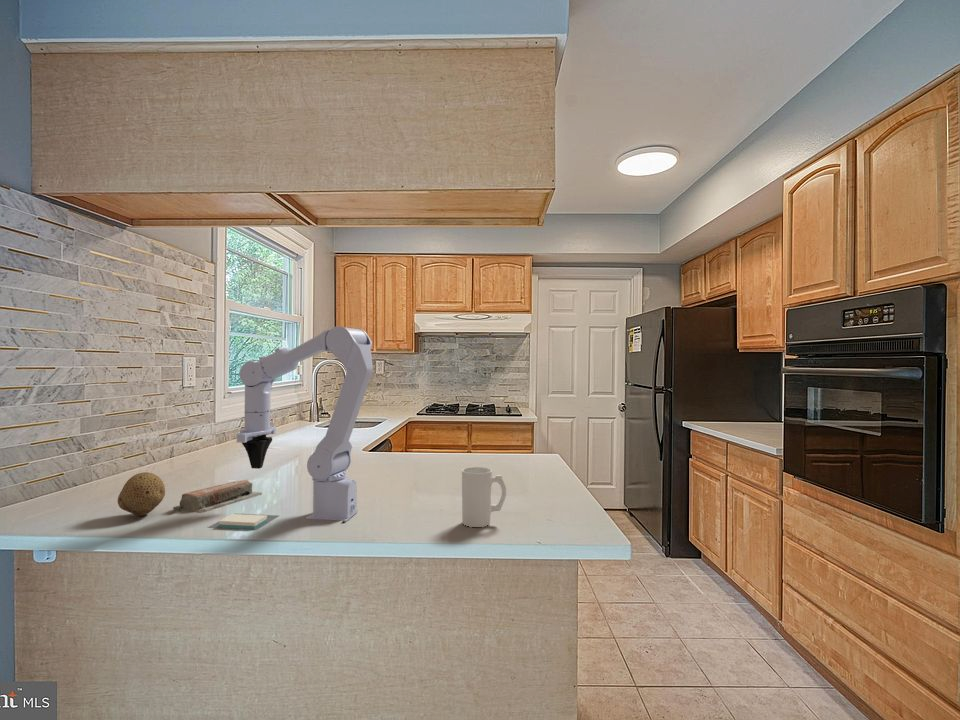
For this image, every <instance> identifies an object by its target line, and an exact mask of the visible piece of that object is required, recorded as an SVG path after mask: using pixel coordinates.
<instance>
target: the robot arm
mask: <svg viewBox="0 0 960 720" xmlns="http://www.w3.org/2000/svg"><path fill="white" fill-rule="evenodd" d="M370 338H371V337H370V336H369V334H368V333H367V332H366V331H365V330H364V329H362V328H357V327H355V328H352V327H344V326H341V325H340V326H338V325H337V326H334V327H332V328H330V329H327V330H324V331H322V332H321V333H320V334H318V335H315V337H312V338H310V339H309V340H307V341H305V342H303V343H301V344H300V345H298V346H296V347H294V348H292V349H289V348H287V347H276V348H275V349H274V352H272V353H270V354H269V355H268V354H267V355H266V356H265V355H264V356H260V357H259V360H257V361H253V360H249V361H246V362H245V363H243V364H242V365H241V368H240V370H239V379H240V381H241V382H242V383H243V385H244V426H243V427H244V428H243V429H240V430H239V432H238V433H236V443H241V445H242V446H243V447H244V448H245V451H246V453H247V456H248V460H249V464H250V466H251V467H250V468H251V469H262V468H263V466H264V462H265V458H266V454H267V451H268V449H269V448H270V445H271V443H272V442H273V436H269V435H275V434H276V433H277V432H276V431H277V427H276V425H271V395H272V394H271V393H272V392H271V391H272V390H273V383H274V382H275V381H276V379H278V378H280V377H282V376H284V375H287V374H289V373H290V372H292V371H295V370H296V369H297V368H298V367H299V366H298V365H299V363H300V362H302V361H305V360H307V359H309V358H313V357H314V356H316V355H319V354H321V353H324V352H327V351H328V352H330V353H331V354H333V356H334V357H335V358H336V359H338V360H339V362H340V363H341V364H342V366H343V367H344V369H345V371H346V374H345V377H344V380H343V383H342V385H341V388H340V392H339V395H338V397H337V401H336V404H335V405H334V410H333V413H332V415H331V419H330V422H329V424H328V428H327V431H326V433H325V436H324V437H322V439H321V440H320V442H318V444H317V445H316V448H315V450H314V452H313V453H312V454H311V455H309V458H308V460H307V462H306V463H307V464H306V467H307V472H308V474H309V475H310V476H311V477H312V478H311V479H312V481H313V482H312V513H311V514H310V515H308V516H306V517H305V519H309V520H327V521H328V520H330V521H332V520H334V521H342V523H344V522H347V521H348V520H350V519H351V518H352V517H353V516H354V515H356V514H357V513H358V509H357V503H358V502H357V501H358V500H357V499H358V497H357V495H358V494H357V491H358V490H357V487H358V486H357V482H356V480H355V479H354V478H348V477H346V475H347V470H348V469H349V467H350V466H351V462H352V457H351V456H352V455H351V452H352V448H353V445H352V444H351V442H350V438H351V436H352V433H353V430H354V427H355V424H356V420H357V418H358V416H359V415H358V414H359V412H360V409H361V407H362V404H363V401H364V398H365V395H366V393H367V389H368V386H369V383H370V380H371V377H372V374H373V371H374V366H373V358H372V347H373V341H372V339H370Z"/></svg>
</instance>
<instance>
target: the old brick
mask: <svg viewBox="0 0 960 720" xmlns="http://www.w3.org/2000/svg"><path fill="white" fill-rule="evenodd" d="M262 494H263V492H260V491H253V482H251V481H249V480H248V479H243V480H235V481H230V482H226V483H222V484H217V485H214V486H209V487H205V488H201V489H196V490H193V491H188V492H185V493H183V494H181V498H180V501H179V505H177V506H176V505H175V506H172V509H173V510H174V511H176V510H179V511H178V512H182V511H190V512H196V513H206V512H210V511H213V510H215V509H219V508H223V507H226V506H230V505H232V504H236V503H239V502H242V501H245V500H249V499H253V498H255V497H259V496H262Z"/></svg>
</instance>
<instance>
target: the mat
mask: <svg viewBox="0 0 960 720" xmlns="http://www.w3.org/2000/svg"><path fill="white" fill-rule="evenodd" d="M242 514H243V515H257V514H255V513H242ZM264 515H265V516H267V522H266V523H265V524H263V525H261V526H260V527H258V528H256V529H243V530H247V531H248V530H249V531H257V530H259V529H261V528H263V527H264V526H265V525H267V524H269V523H270V522H272V521H274V520H275V519H277V518H279V517H280V515H277V514H276V515H275V514H264ZM207 528H209V529H220V528H219V521H218V522H217V521H216V522H215V523H214V524H213V523H212V524H211V525H210V526H207ZM224 529H226V530H227V529H229V530H238V529H237V528H223V530H224Z"/></svg>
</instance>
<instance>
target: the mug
mask: <svg viewBox="0 0 960 720" xmlns="http://www.w3.org/2000/svg"><path fill="white" fill-rule="evenodd" d="M492 471H493V469H491V468H488V467H485V466H484V467H481V466H480V467H479V466H470V467H464V468H462V469H461V501H462V502H461V511H462V513H461V514H462V518H461V519H462V525H463V524H464V525H463V526H465V525H466V526H465V527H467V526H469V527H468V528H472V527H482V528H486V527H488V526H490V525H491V514H492V513H493V512H501V510H502V507H503V505H504V502H505V500H506V497H507V486H506V484H505V481H504V479H503V476H502V474H496V475H495V476H492ZM493 483H497V484H498V485H499V486H500V488H501V489H500V490H501V495H500V498H499V500H498V502H497V503H496V504H493V503H492V484H493ZM487 525H488V526H487ZM485 526H486V527H485Z"/></svg>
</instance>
